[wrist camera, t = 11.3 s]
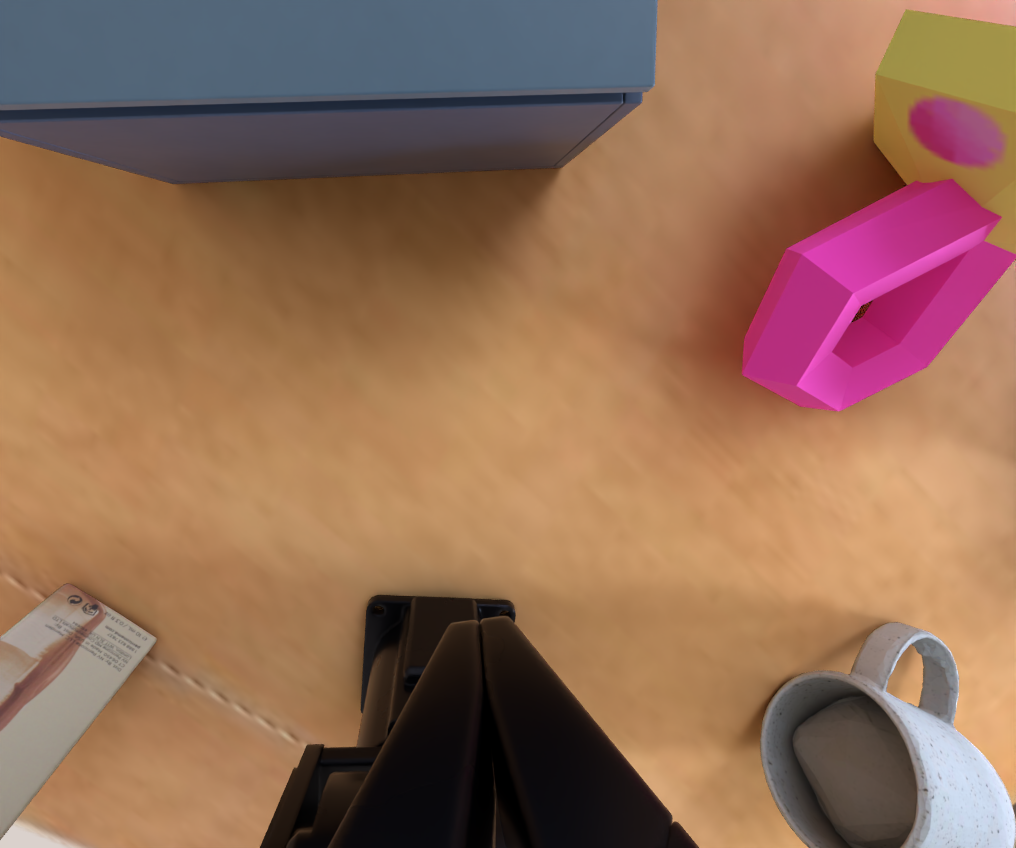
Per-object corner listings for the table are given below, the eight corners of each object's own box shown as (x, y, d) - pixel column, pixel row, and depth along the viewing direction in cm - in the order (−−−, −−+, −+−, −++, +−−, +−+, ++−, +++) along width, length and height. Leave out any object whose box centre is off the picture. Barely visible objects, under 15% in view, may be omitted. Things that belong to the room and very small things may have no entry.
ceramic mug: (838, 776, 29) (971, 947, 22) (733, 741, 27) (840, 917, 20) (957, 639, 27) (1150, 778, 19) (851, 590, 25) (1022, 725, 17)
